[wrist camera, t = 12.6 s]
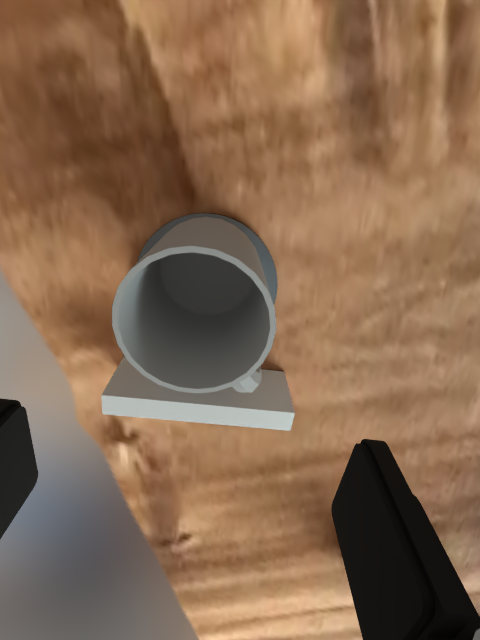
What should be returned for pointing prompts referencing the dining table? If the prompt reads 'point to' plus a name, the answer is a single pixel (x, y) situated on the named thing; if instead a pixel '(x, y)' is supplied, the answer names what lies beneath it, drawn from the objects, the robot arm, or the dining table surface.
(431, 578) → the robot arm
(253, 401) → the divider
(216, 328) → the cup
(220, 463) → the dining table surface
